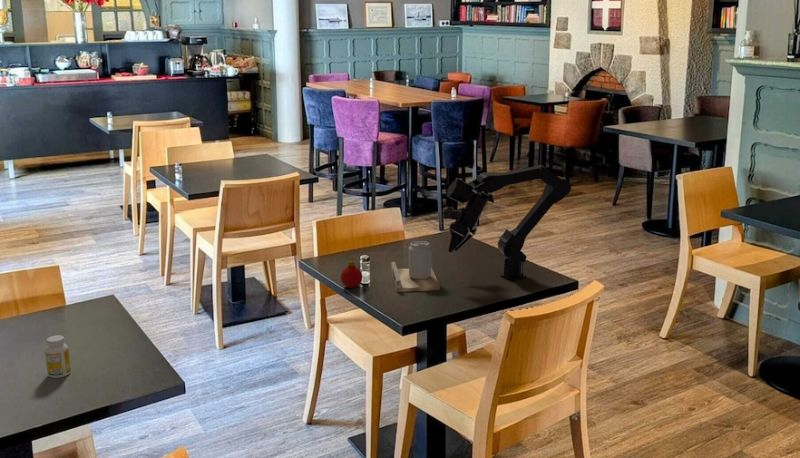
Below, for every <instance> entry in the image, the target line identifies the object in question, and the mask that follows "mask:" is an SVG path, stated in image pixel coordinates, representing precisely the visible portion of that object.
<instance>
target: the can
mask: <svg viewBox="0 0 800 458" xmlns="http://www.w3.org/2000/svg"><path fill="white" fill-rule="evenodd" d="M431 268H432V247H431V245H430V243H429V242H428V241H424V240H417V241H416V240H415V241H412V242H410V245H409V246H408V269H409V276H410V277H411V278H412V279H414V280H425V279H428V278H429V277H430V276H431Z"/></svg>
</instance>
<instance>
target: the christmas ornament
mask: <svg viewBox="0 0 800 458" xmlns="http://www.w3.org/2000/svg"><path fill="white" fill-rule="evenodd" d="M340 280H341V283H342V284H343V285H344V286H345V287H347V288H350V289H352V288H353V289H354V288H357V287H358V286H359V285H361V283H362V282H363V272H362V270H361V269H360V268H359V267H358V266H356V265H355V261H354V259H353V258H349V259H348V262H347V266H346V267H345V268H344V269H343V270H342V271H341V273H340Z"/></svg>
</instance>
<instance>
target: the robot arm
mask: <svg viewBox="0 0 800 458" xmlns="http://www.w3.org/2000/svg"><path fill="white" fill-rule="evenodd" d="M534 180H541V181H542V182H543V183H544V184H545V186H544V188H543V191H542V194H541V197H540V198H539V199H538V200H537V201H536V203H534V205H533V206H532V207H531V209H530V210H529V211H528V212H527V214H526V215H525V216H524V217H523V218H522V220H521V221H520V222H519V223H517V226H516V227H515V228H513V229H511V230H509V229H508V228H507V229H505V230H504V232H503V234H502V235H501V236H499V237H498V239H499V240H498V241H497V248H498V250H499V251H500V252H501V253H502V255H503V257H505V259H504V261H503V262H504V263H503V273H501V274H500V276H499V277H502V278H505V279H508V280H512V281H517V280H520V279H523V278H526V277H527V274H525V273H524V263H525V262H526V260H527V258H528V257H527V255H526V254H525V253H524V252H523V251H522V249H523V247H524V245H525V241H526V238H527V237H528V235H529V234H530V233H531V232H532V231H533V229H535V227H536V226H537V225H538V223H540V221H541V220H542V219H543V217H544V216H545V215H546V214H547V213H548V212H549V210H550V209H551V208H552V207H553V205H555V204H557V203H558V202H560V201H562V200H563V199H564V198H565V197H566V196H568V195H569V194H570V193H571V190H572V184H571V182H570V181H569V180H568V179H566V178H564V177H562V176H559V175H556V174H554V173H553V172H552V171H550V170H549V169H548V168H547V166H543V165H541V164H537V165H535V166H531V167H530V166H529V167H525V168H520V169H516V170H510V171H506V172H495V171H486V172H481V173H479V174H478V176H477V178H475V179H473V180H472V181H469V182H468V183H467V182H465V181H463V180H462V179H460V178H458V177H456V178H455V180H454V181H452V182H451V184H450V185H449V186H448V188H447V191H446V197H447V198H450V199H451V200H453V201H455V202H458V203H460V204H464V203H465V207H463V208H461V210H455V209H454V207H450V206H447V208H444V209H443V211H442V214H443V215H442V219H444V220H454V221H453V222H451V223H450V225H449V227H448V229H449V232H450V236H451V237H450V242H449V247H448V250H447V251H448V252H449V253H453V252H454V251H455V252H457V251H459V249H461V248H462V247H463V246H464V245H465V244H467V243H468V242H469V240H471V239H472V238H473V237H474V236H476V233H477V232H478V227H477V226H476V224H477V223H478V221H479V219H481V217H482V215H481V214H482V213H483V211H484V210H485V207H486V205H487V204H488V202H490V203H492V204H494V203H495V199H494V197H493V196H494V195H493V193H495V192H497V191H500V190H502V189H503V188H505V187H507V186H511V185H516V184H520V183H524V182H529V181H534Z"/></svg>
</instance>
